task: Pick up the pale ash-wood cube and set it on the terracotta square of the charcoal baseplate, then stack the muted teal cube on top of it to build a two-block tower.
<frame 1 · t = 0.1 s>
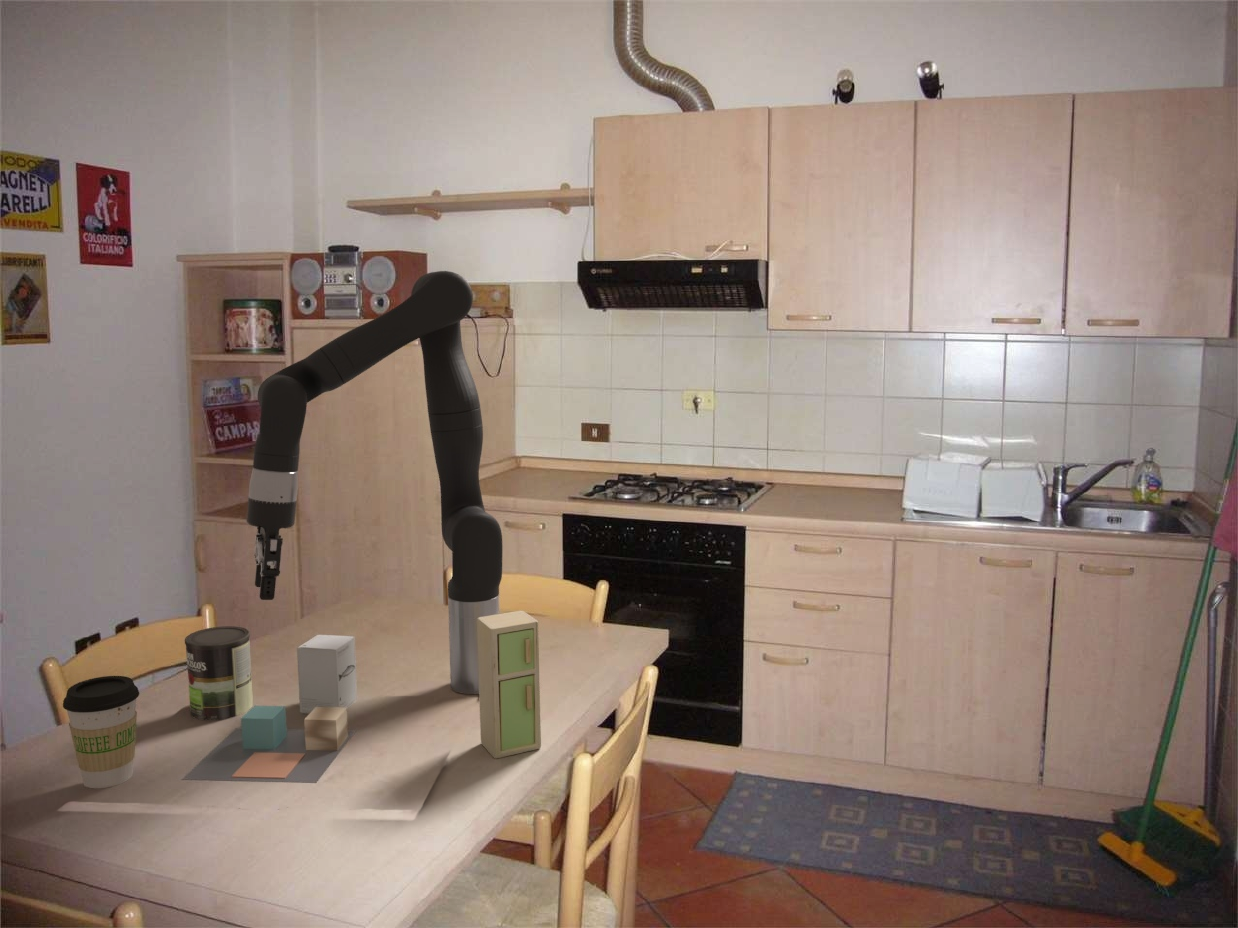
hand: (264, 592, 163), 22 cm above the table, tool pointing down, fingers open, 8 cm apart
toy refrigerator: (511, 748, 156), on the table
coffee cup: (109, 785, 144), on the table
supplement box: (329, 712, 171), on the table
teal block: (265, 742, 156), point 1 cm above the table, touching baseplate
baseplate: (274, 759, 152), on the table
coffee can: (222, 715, 170), on the table
ash block: (327, 743, 156), point 1 cm above the table, touching baseplate
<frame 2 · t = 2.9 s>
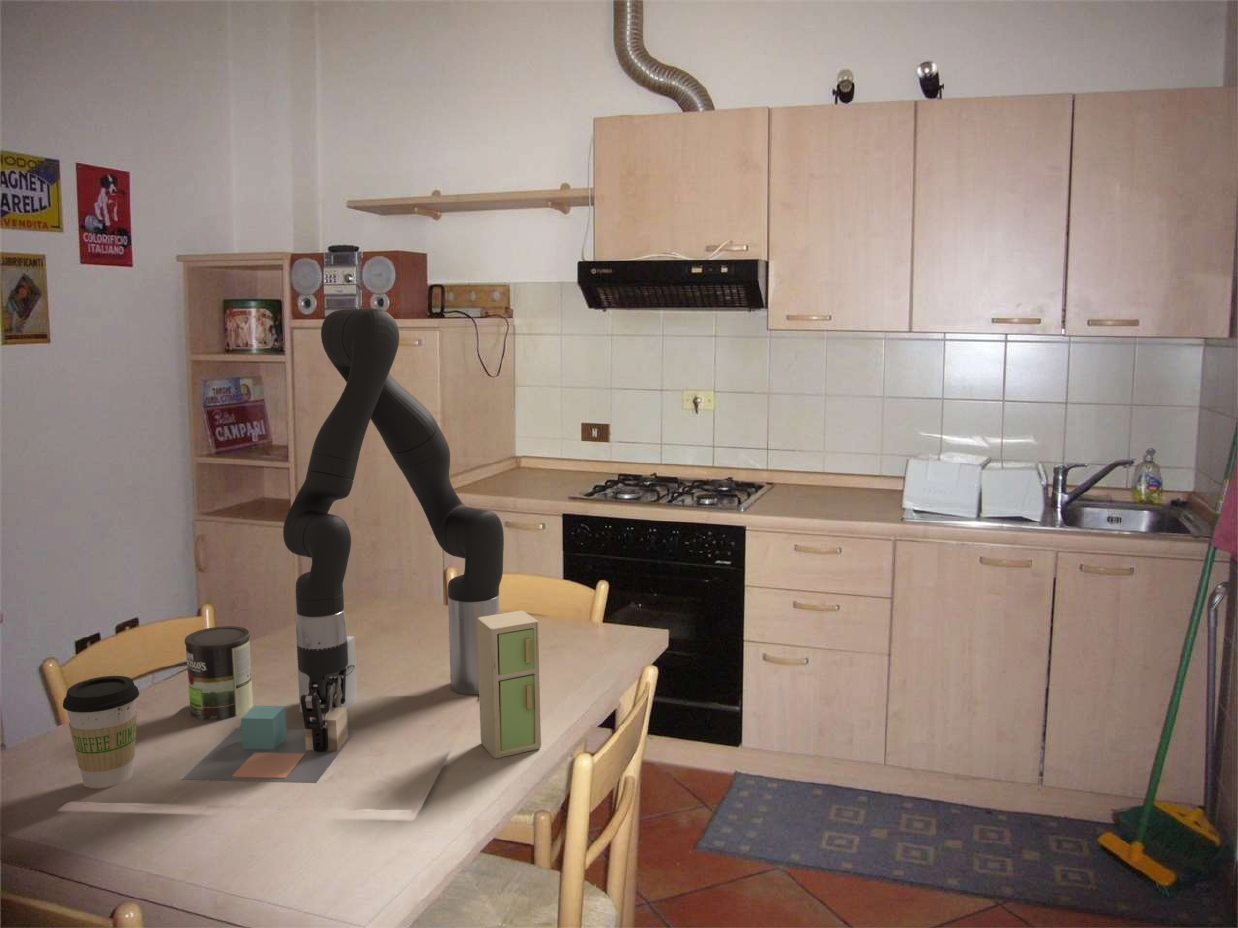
hand: (327, 742, 156), 1 cm above the table, tool pointing down, fingers closed on ash block, 5 cm apart
ash block: (327, 743, 156), point 1 cm above the table, touching baseplate, gripper
everything else where it was.
when the fingers open (2 cm above the table, at t = 8.8 s): ash block stays where it is, resting on baseplate.
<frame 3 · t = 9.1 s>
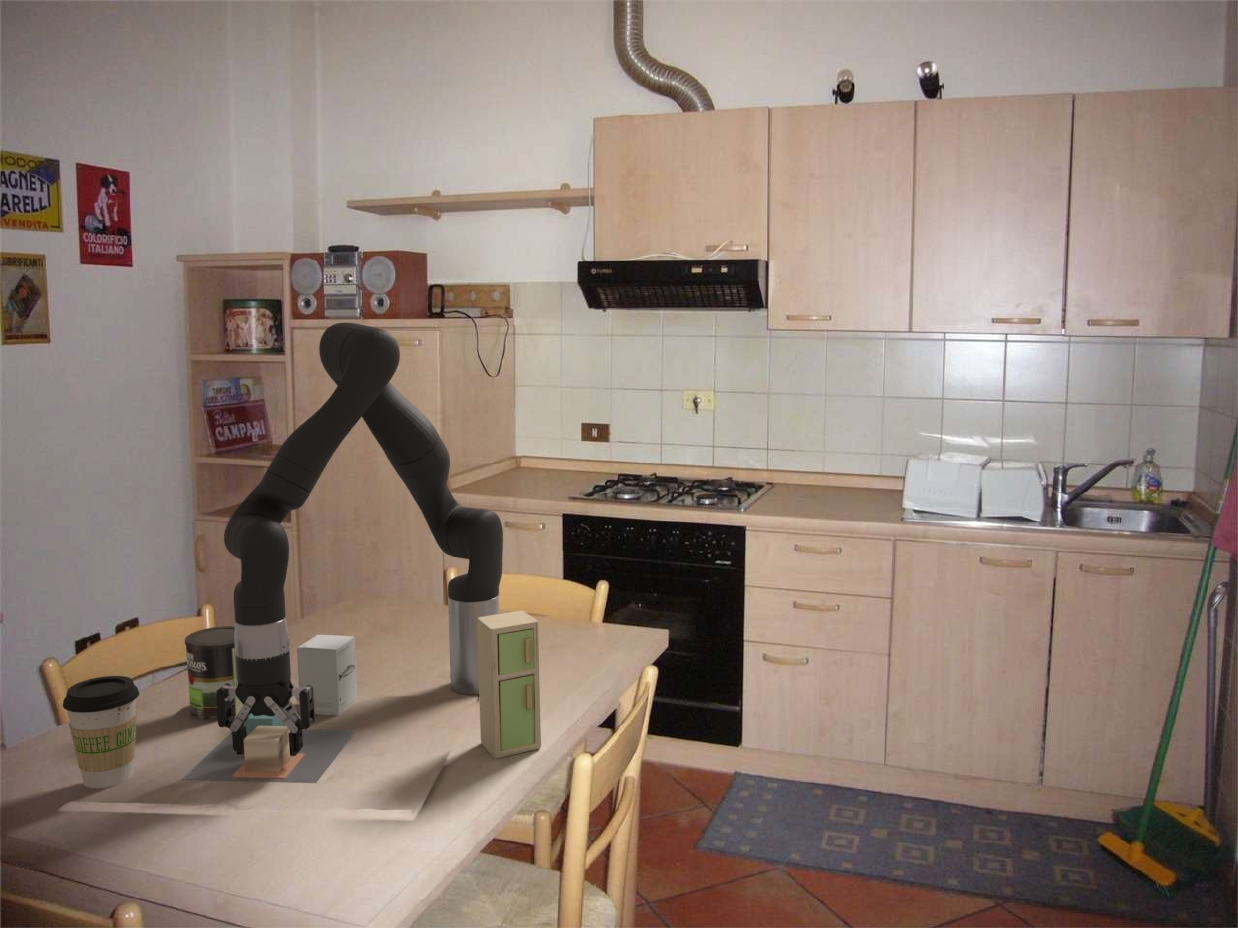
hand: (268, 753, 148), 3 cm above the table, tool pointing down, fingers open, 7 cm apart
ash block: (269, 764, 148), point 1 cm above the table, touching baseplate
everything else where it was.
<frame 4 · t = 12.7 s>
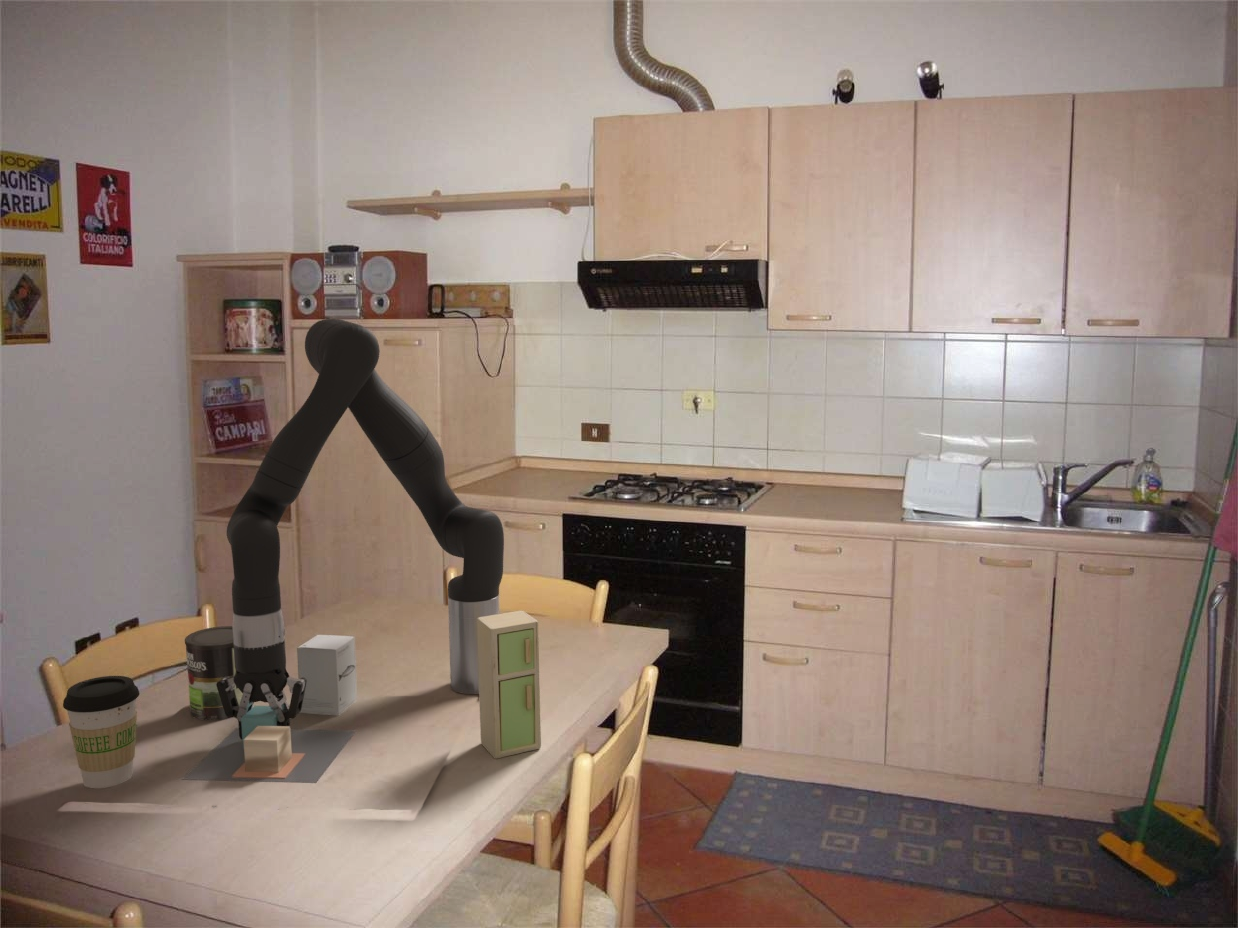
hand: (265, 740, 156), 1 cm above the table, tool pointing down, fingers closed on teal block, 5 cm apart
teal block: (265, 742, 156), point 1 cm above the table, touching baseplate, gripper
everything else where it was.
when the fingers open (7 cm above the table, at t = 17.6 s): teal block stays where it is, resting on ash block.
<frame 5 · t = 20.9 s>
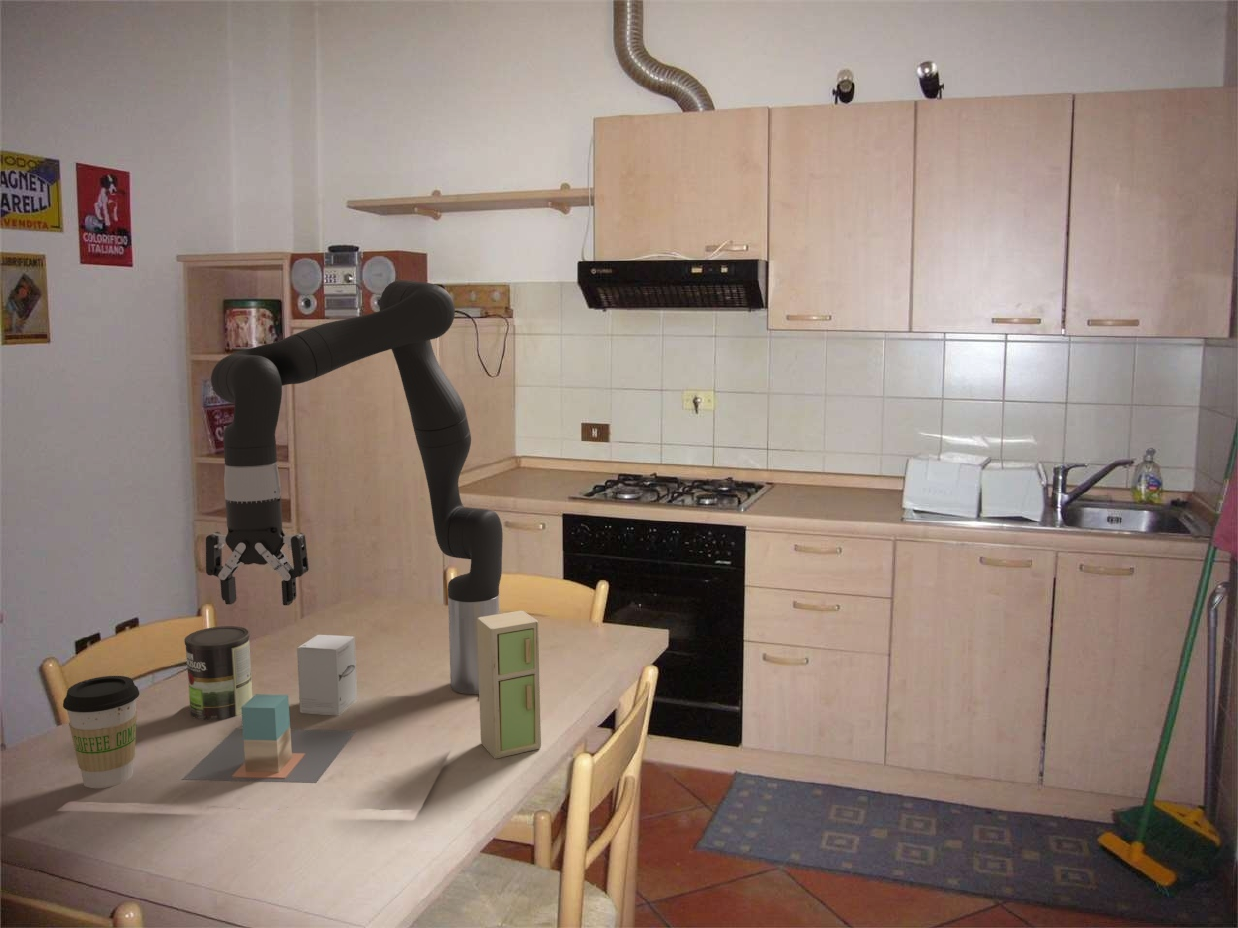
hand: (259, 603, 144), 26 cm above the table, tool pointing down, fingers open, 8 cm apart
teal block: (267, 732, 147), point 6 cm above the table, touching ash block
ash block: (269, 764, 148), point 1 cm above the table, touching baseplate, teal block
everything else where it was.
at the end: ash block 0.0 cm from the target spot, point 1.1 cm above the table; teal block 0.0 cm off-centre on the ash block, point 5.0 cm above the ash block's base; teal block tilted 0° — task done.
